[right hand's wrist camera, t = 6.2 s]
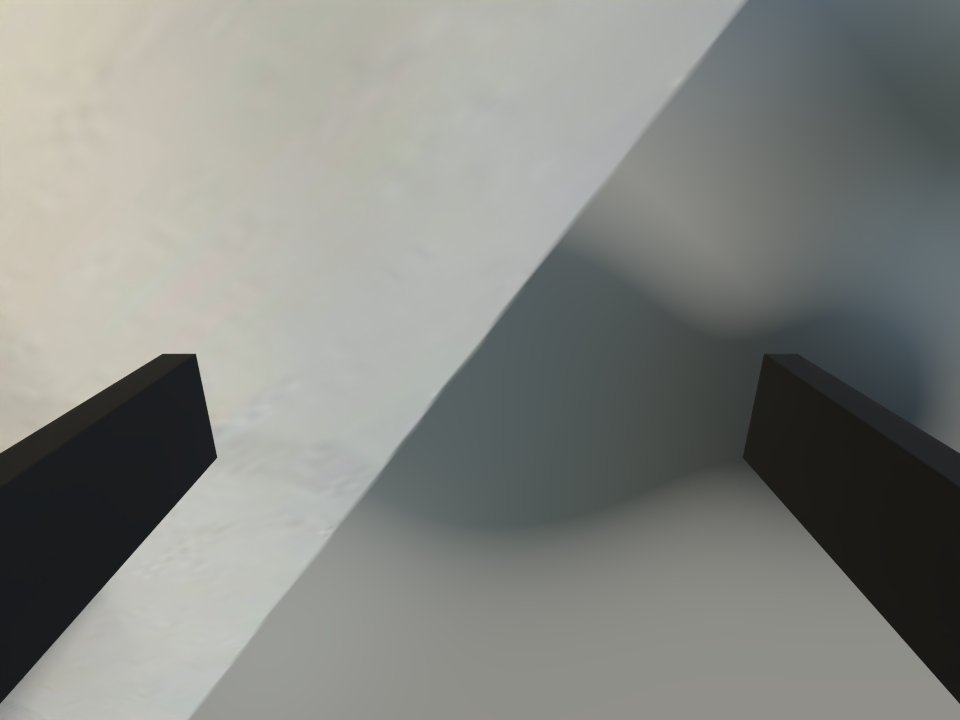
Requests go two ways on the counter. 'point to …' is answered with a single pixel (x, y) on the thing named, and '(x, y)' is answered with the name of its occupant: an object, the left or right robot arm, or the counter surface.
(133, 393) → the right robot arm
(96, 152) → the counter surface
